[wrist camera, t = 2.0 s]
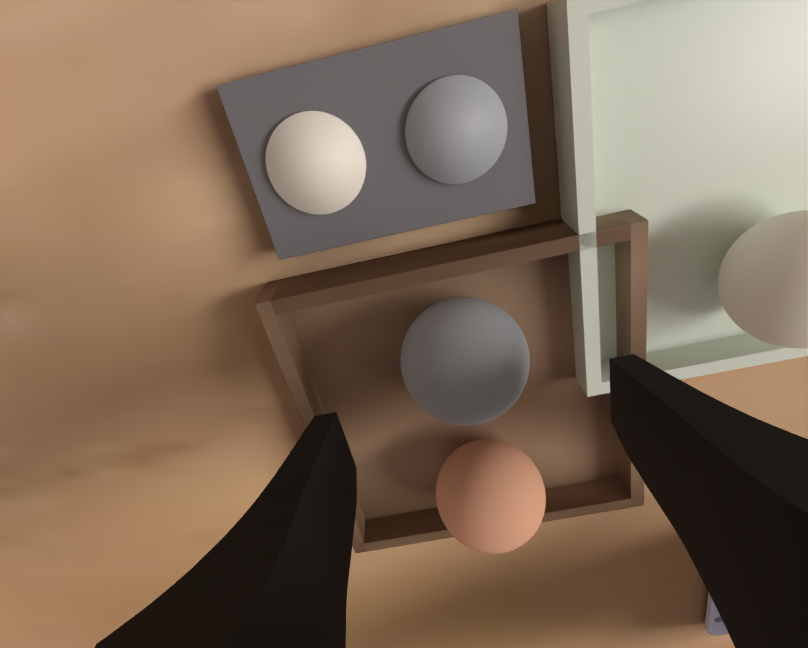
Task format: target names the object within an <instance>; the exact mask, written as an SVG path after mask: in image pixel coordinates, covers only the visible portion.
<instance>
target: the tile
mask: <svg viewBox="0 0 808 648" xmlns="http://www.w3.org/2000/svg"><path fill="white" fill-rule="evenodd" d="M216 87H217V90H218V92H219V95H220V98H221V101H222V103H223V106H224V109H225V112H226V115H227V117H228V120H229V123H230V126H231V128H232V131H233V134H234V137H235V139H236V142H237V145H238V148H239V150H240V153H241V156H242V159H243V161H244V164H245V167H246V170H247V173H248V175H249V178H250V181H251V184H252V186H253V189H254V192H255V195H256V197H257V200H258V203H259V206H260V208H261V211H262V214H263V217H264V219H265V222H266V225H267V228H268V231H269V233H270V236H271V239H272V242H273V244H274V247H275V250H276V253H277V255H278V258H279V260H281V259H285V258H290V257H294V256H299V255H303V254H308V253H312V252H317V251H321V250H326V249H330V248H335V247H339V246H344V245H349V244H353V243H358V242H362V241H367V240H371V239H376V238H380V237H385V236H389V235H394V234H398V233H403V232H407V231H412V230H417V229H421V228H426V227H430V226H435V225H439V224H444V223H448V222H453V221H457V220H462V219H466V218H471V217H475V216H480V215H485V214H489V213H494V212H498V211H503V210H507V209H512V208H516V207H521V206H525V205H530V204H534V203H536V202H535V191H534V180H533V169H532V159H531V148H530V137H529V126H528V116H527V105H526V94H525V83H524V73H523V62H522V51H521V40H520V30H519V19H518V9H515V10H511V11H507V12H503V13H500V14H496V15H492V16H488V17H484V18H480V19H476V20H472V21H468V22H464V23H460V24H456V25H452V26H448V27H444V28H441V29H437V30H433V31H429V32H425V33H421V34H417V35H413V36H409V37H405V38H401V39H397V40H393V41H389V42H385V43H381V44H378V45H374V46H370V47H366V48H362V49H358V50H354V51H350V52H346V53H342V54H338V55H334V56H330V57H326V58H322V59H318V60H315V61H311V62H307V63H303V64H299V65H295V66H291V67H287V68H283V69H279V70H275V71H271V72H267V73H263V74H259V75H255V76H252V77H248V78H244V79H240V80H236V81H232V82H228V83H224V84H220V85H216Z"/></svg>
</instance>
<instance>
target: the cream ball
mask: <svg viewBox="0 0 808 648" xmlns="http://www.w3.org/2000/svg"><path fill="white" fill-rule="evenodd" d="M718 291H719V297H720V300H721V303H722V305H723V307H724V309H725V311H726V313H727V314H728V315H729V317H730V318H731V319H732V321H733V322H734V323H735V324H736V325H737V326H739V327H740V328H741V329H742V330H743V331H745V332H746V333H748V334H749V335H751V336H753V337H754V338H756V339H759V340H761V341H764V342H766V343H769V344H772V345H776V346H781V347H787V348H798V349H802V348H808V210H801V211H793V212H788V213H784V214H780V215H777V216H774V217H771V218H768V219H766V220H764V221H762V222H760V223H758V224H756V225H755V226H753V227H751V228H750V229H748V230H747V231H746V232H745V233H743V234H742V235H741V236H740V237H739V238H738V239H737V240H736V241H735V242H734V243H733V244H732V246H731V247H730V248H729V250H728V251H727V253H726V255H725V256H724V258H723V261H722V263H721V266H720V270H719V275H718Z"/></svg>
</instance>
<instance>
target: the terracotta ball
mask: <svg viewBox="0 0 808 648" xmlns="http://www.w3.org/2000/svg"><path fill="white" fill-rule="evenodd" d="M436 502H437V507H438V511H439V514H440V516H441V519H442V521H443V523H444V524H445V526H446V528H447V529H448V530H449V532H450V533H451V534H452V535H453V536H454V537H455V538H456V539H457V540H458V541H459V542H461V543H462V544H464V545H465V546H467V547H469V548H471V549H473V550H476V551H479V552H483V553H489V554H499V553H505V552H509V551H512V550H514V549H517V548H519V547H520V546H522V545H523V544H525V543H526V542H527V541H528V540H529V539H530V538H531V537H532V536H533V535H534V534H535V532H536V531H537V530H538V528H539V526H540V524H541V522H542V519H543V516H544V512H545V506H546V493H545V487H544V483H543V479H542V477H541V475H540V473H539V470H538V469H537V467H536V466H535V464H534V463H533V461H532V460H531V459H530V458H529V457H528V456H527V455H526V454H525V453H524V452H523V451H522V450H520V449H519V448H517V447H516V446H514V445H512V444H510V443H507V442H504V441H501V440H496V439H479V440H475V441H471V442H469V443H466V444H464V445H462V446H461V447H459V448H458V449H456V450H455V451H454V452H453V453H452V454H451V455H450V456H449V457H448V458H447V460H446V461H445V463H444V464H443V466H442V468H441V470H440V473H439V475H438V478H437V484H436Z"/></svg>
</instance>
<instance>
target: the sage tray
mask: <svg viewBox="0 0 808 648" xmlns="http://www.w3.org/2000/svg"><path fill="white" fill-rule="evenodd" d="M546 5H547V19H548V34H549V48H550V63H551V77H552V92H553V106H554V120H555V135H556V149H557V164H558V178H559V193H560V207H561V219H562V220H563V221H564V222H565V223H566V224H568V225H569V226H570V227H571V228H572V229H573V230H574V231H575V232H576V233H577V234H578V235H581V234H582V236H581V237H580V238H583V237H586V236H583V235H584V234H587V233H588V234H590V233H591V232H592V233H594V236H595V237H596V234H595V233H596V217H597V216H602V215H606V214H611V213H616V212H620V211H625V210H629V209H631V210H633V211H634V212H636V213H638V214H639V215H641V216H642V217H644V218H646V219H647V220H648V276H647V336H646V361H647V362H649V363H651V364H653V365H654V366H656V367H658V368H660V369H661V370H663V371H665V372H667V373H668V374H670V375H672V376H674V377H675V378H677V379H679V380H681V379H686V378H692V377H697V376H702V375H708V374H713V373H718V372H724V371H729V370H735V369H740V368H745V367H751V366H756V365H761V364H767V363H772V362H777V361H783V360H788V359H794V358H799V357H804V356H808V348H802V349H798V348H787V347H781V346H776V345H772V344H769V343H766V342H764V341H761V340H759V339H756V338H754V337H753V336H751V335H749V334H748V333H746V332H745V331H743V330H742V329H741V328H740V327H739V326H737V325H736V324H735V323H734V322H733V321H732V319H731V318H730V317H729V315H728V314H727V313H726V311H725V309H724V307H723V305H722V303H721V300H720V297H719V291H718V275H719V270H720V266H721V263H722V261H723V258H724V256H725V255H726V253H727V251H728V250H729V248H730V247H731V246H732V244H733V243H734V242H735V241H736V240H737V239H738V238H739V237H740V236H741V235H742V234H743V233H745V232H746V231H747V230H748V229H750V228H751V227H753V226H755V225H756V224H758V223H760V222H762V221H764V220H766V219H768V218H771V217H774V216H777V215H780V214H784V213H788V212H793V211H801V210H808V0H553V1H551V2H548V3H546ZM592 233H591V235H592V236H590V237H591V238H592V241H591V240H590V239H591V238H590V237H589V236H588V235H587V237H588V239H589V240H588V239H587V238H586V239H587V240H588V243H589V244H590V243H591V242H592V243H593V244H594V243H595V244H594V245H593V244H590V246H589V247H587V246H588V245H589V244H588V243H587V240H586V239H584V240H582V239H581V240H580V238H579V241H581V242H579V243H582V242H583V241H585V243H587V244H588V245H587V244H586V245H585V243H584V244H581V245H580V244H579V245H580V251H577V252H572V253H568V260H569V275H570V290H571V306H572V321H573V337H574V352H575V368H576V378H577V380H578V382H579V383H580V385H581V387H582V388H583V390H584V392H585V393H586V395H587V397H590V396H595V395H600V394H606V393H610V364H609V359H611V358H616V357H617V340H616V280H615V244H610V245H605V246H600V247H596V246H597V243H596V241H597V240H596V239H595V237H594V236H593V234H592ZM593 237H594V239H593ZM594 240H595V241H594ZM582 245H583V246H582ZM592 245H593V246H592ZM584 246H585V247H586V248H585V247H584ZM591 246H592V247H591ZM593 247H594V248H593ZM595 247H596V248H595Z"/></svg>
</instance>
